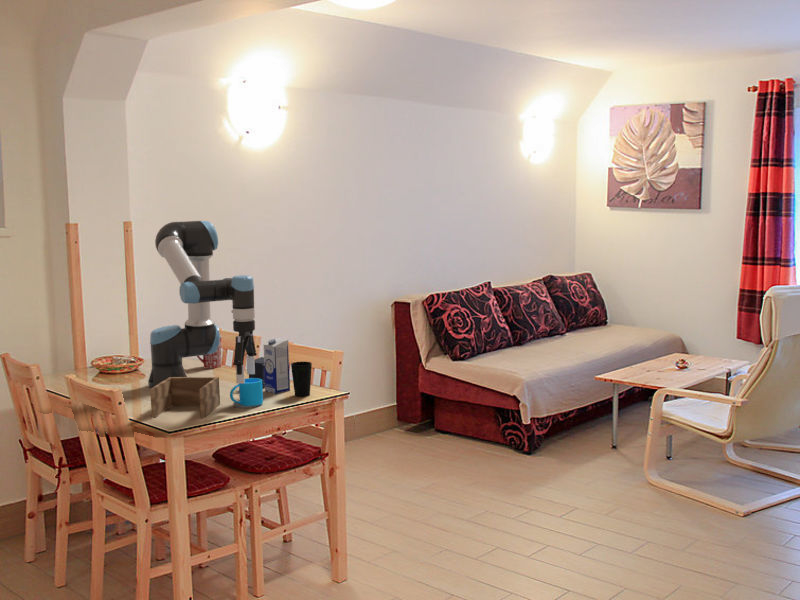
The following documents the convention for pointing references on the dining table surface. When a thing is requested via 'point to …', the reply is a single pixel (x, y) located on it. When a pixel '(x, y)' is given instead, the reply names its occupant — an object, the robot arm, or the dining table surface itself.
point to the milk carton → (276, 365)
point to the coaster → (243, 406)
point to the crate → (186, 394)
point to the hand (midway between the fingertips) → (245, 378)
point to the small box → (259, 370)
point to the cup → (301, 378)
